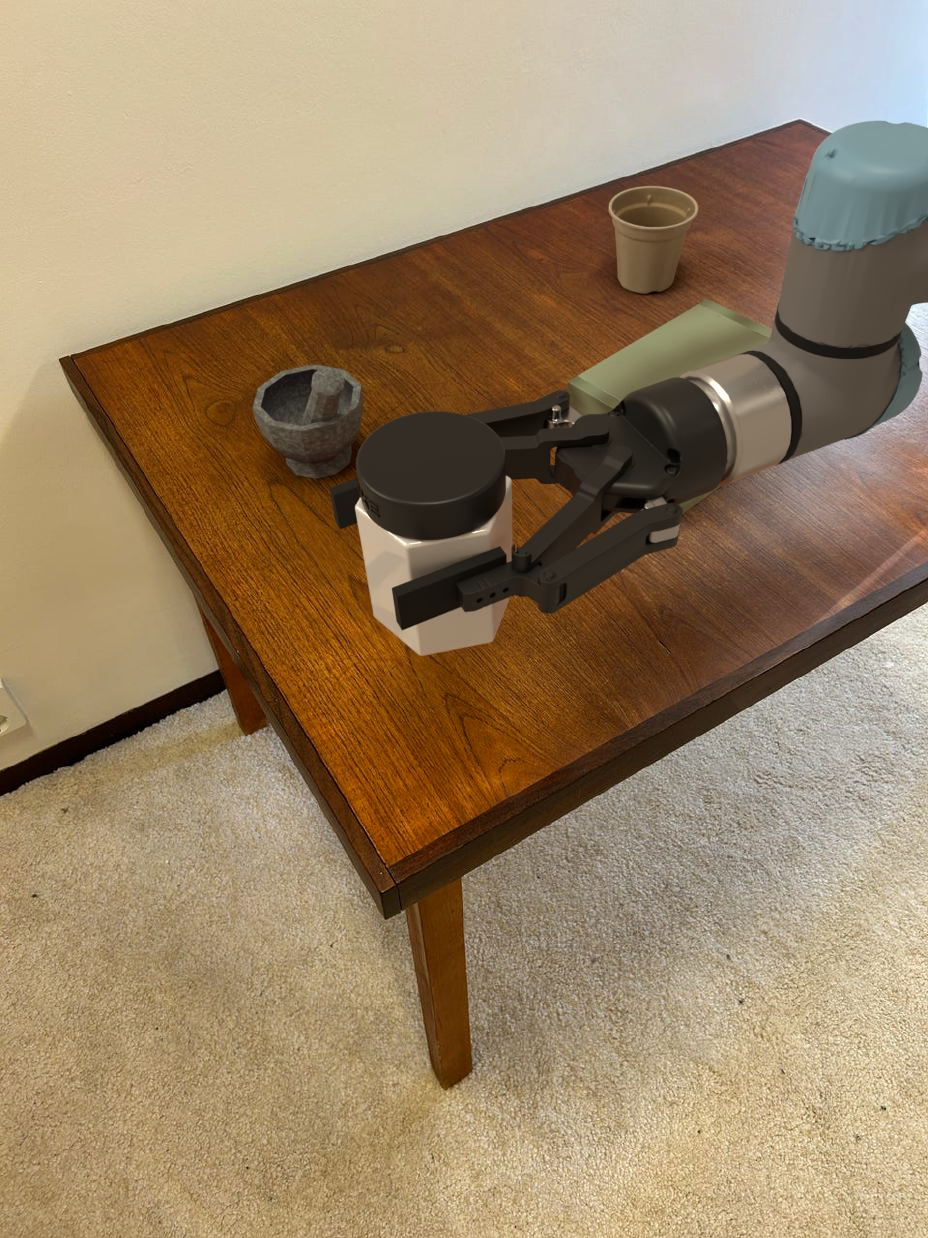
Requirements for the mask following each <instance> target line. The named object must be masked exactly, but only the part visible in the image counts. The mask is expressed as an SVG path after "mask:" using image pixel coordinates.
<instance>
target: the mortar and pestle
mask: <svg viewBox="0 0 928 1238" xmlns="http://www.w3.org/2000/svg"><path fill="white" fill-rule="evenodd" d="M253 401H254V402H253V404H252V411H253V415H254V420H255V422H256V425H257V426H258V428H259V430H260V433H261V434H262V436H264V438H265V439H266V440H267V441H268V442H269V443H270V444H271V445H272V446H273V447H274V448H275V449H276V450H277V452H279V454H281V456H283V457H284V458H285V462H286V465H287V466H288V468H289V469H290V470H291V471H292V472H293V473H294V474H295V475H296V476H299V477H303V478H310V479H314V480H316V479H321V478H326V477H329V476H334V475H337V474H338V473H340V472H341V471H342V470H343V469H344V468H346V467H347V466H348V465H349V464H351V458H352V452H353V448H352V445H353V444H354V443H356V440H357V439H358V436H359V434H360V432H361V426H362V418H363V412H364V410H363V408H364V393H363V386H362V384H361V383H360V382H359V381H358V380H357V379H356V378H355V377H353V376H352V375H351V374H350V373H349V372H347V371H346V370H345V369H343V368H338V367H332V366H325V365H320V364H310V365H304V366H300V367H295V368H291V369H285V370H281V371H280V372H278V373H276V374H275V375H274V376H272V377H271V378H269V379H268V380H267V381H266V382H264V383H263V384H261V385H259V386H258V387H257V390H256V394H255V398H254V400H253Z"/></svg>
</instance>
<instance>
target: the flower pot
mask: <svg viewBox="0 0 928 1238" xmlns="http://www.w3.org/2000/svg"><path fill="white" fill-rule="evenodd" d="M608 213H609V215H610V217H611V222H612V225H613V227H614V233H615V234H614V235H615V249H616V250H615V251H616V266H617V268H616V269H617V270H616V271H617V279H618V281H619V283H620V286H621V287H623V288H624V289H625V290H626V291H629V292H633V293H635V294H642V295H648V294H649V293H652V292H657V293H661V292H664V291H665V290H668V288H670V287H671V286H672V284H673V283H674V280H675V275H676V272H677V268H678V264H679V261H680V258H681V254H682V251H683V248H684V247H683V246H684V243H685V240H686V237H687V233H688V231H689V230H690V228H691V227H692V223H693V221H694V220H695V219H696V218H697V216H698V213H699V204H698V202H697V201H696V200H695V198H694V197H692V196H691V195H690V194H688V193H686V192H684V191H682V190H679V189H676V188H673V187H667V186H660V185H645V186H644V185H643V186H636V187H632V188H628V189H625V190H622V191H620V192H618V193H617V194H615V195H614V196H613V197H612V199H610V201H609V203H608Z"/></svg>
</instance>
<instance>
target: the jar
mask: <svg viewBox="0 0 928 1238" xmlns="http://www.w3.org/2000/svg"><path fill="white" fill-rule="evenodd" d="M467 415H468V414H463V413H459V412H453V411H443V410H442V411H441V410H431V411H430V410H429V411H428V410H427V411H419V412H414V413H409V414H405V415H402V416H399V417H397V418H394V419H392V420H389V421H387V422H385V423H383V424H382V425H381V426H379V427H377V428H376V429H375V430H374V431H372V432H371V433H370V434H369V435H368V436H367V437H366V439H365V440H364V441H363V442H362V444H361V445H360V448H359V449H358V452H357V454H356V455H357V456H356V459H355V460H356V461H355V468H356V473H355V474H356V479H357V484H358V490H359V494H360V499H359V500H358V502H357V504H356V506H355V512H356V517H357V528H358V529H357V530H358V534H359V539H360V540H359V541H360V545H361V552H362V557H363V563H364V568H365V574H366V580H367V586H368V592H369V597H370V604H371V609H372V614H373V617H374V618H375V620H377V621H378V622H379V623H380V624H382V625H383V626H384V627H385V628H386V629H387V630H388V631H390V632H391V633H392V634H393V635H395V636H396V637H397V638H398V639H399V640H400V641H402V642H403V643H404V644H405V645H406V646H407V647H408V648H409V649H411V650H412V651H413V652H414V653H415V654H417V655H418V656H419V657H424V656H425V657H426V656H429V655H434V654H439V653H445V652H451V651H455V650H459V649H465V648H466V649H467V648H470V647H471V648H472V647H475V646H480V645H486V644H490V643H493V642H494V640H495V638H496V635H497V632H498V630H499V628H500V626H501V622H502V621H503V617H504V615H505V612H506V610H507V607H508V604H509V602H510V599H511V597H509V598H506V599H504V600H501V601H499V602H496V603H494V604H490V605H489V606H486V607H483V608H482V609H479V610H477V611H472V612H464V610H463V609H462V608H461V607H460V608H457V609H455V610H452V611H450V612H447V613H445V614H442V615H440V616H437V617H435V618H432V619H430V620H427V621H425V622H422V623H420V624H417V625H415V626H412V627H410V628H407V629H405V630H401V628H400V626H399V625H398V623H397V621H396V614H395V607H394V601H393V594H392V588H393V587H395V586H398V585H400V584H403V583H406V582H408V581H411V580H413V579H416V578H419V577H421V576H424V575H426V574H429V573H432V572H434V571H437V570H439V569H442V568H445V567H447V566H450V565H453V564H455V563H458V562H460V561H463V560H466V559H468V558H471V557H473V556H476V555H479V554H481V553H484V552H486V551H489V550H492V549H494V548H497V547H499V546H500V547H501V548H502V549H503V551H504V552H505V553H506V554H507V562H510V561H512V558H511V549H512V546H513V544H514V543H513V542H514V541H513V539H514V538H513V480H511V479H510V478H509V477H508V476H506V455H505V449H504V446H503V443H502V441H501V439H500V438H499V436H498V435H497V434H496V433H495V432H494V431H493V430H492V429H491V428H490V427H489V426H487V425H486V424H484V423H483V422H481V421H479V420H477V419H475V418H472V417H470V416H467Z"/></svg>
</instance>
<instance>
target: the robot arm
mask: <svg viewBox="0 0 928 1238" xmlns="http://www.w3.org/2000/svg"><path fill="white" fill-rule="evenodd" d="M787 254H788V255H787V259H786V265H785V268H784V269H785V271H784V275H783V280H782V285H781V291H780V296H779V300H778V303H777V306H776V313H775V315H774V319H773V323H772V328H771V329H772V332H771V336H770V340H769V341H768V343H766V344H764V345H761V346H759V347H756V348H754V349H751V350H749V351H746V352H744V353H741V354H738V355H735V356H733V357H730V358H727V359H724V360H721V361H718V362H715V363H712V364H709V365H706V366H703V367H700V368H697V369H693V370H690V371H688V372H686V373H684V374H682V375H681V376H680V377H674V378H670V379H667V380H664V381H661V382H659V383H656V384H653V385H650V386H647V387H644V388H642V389H639V390H636V391H633V392H631V393H629V394H628V395H627V396H625V397H624V399H623V400H622V401H621V402H620V403H619V404H618V405H617V406H616V407H615V408H614V409H613V410H612V411H610V412H608V413H602V414H587V415H581V414H580V413H579V412H577V411H576V410H575V409H573V408H572V407H571V406H570V394H569V393H568V392H567V390H561V389H559V390H555V391H553V392H551V393H549V394H546V395H545V396H543V397H540V398H538V399H536V400H533V401H528V402H522V403H519V404H518V403H517V404H513V405H508V406H503V407H499V408H493V409H488V410H483V411H478V412H473V413H468V414H466V415H467V416H470V417H472V418H475V419H477V420H479V421H481V422H483V423H484V424H486V425H487V426H489V427H490V428H491V429H492V430H493V431H494V432H495V433H496V434H497V435H498V436H499V438H500V439H501V441H502V443H503V446H504V449H505V455H506V476H508V477H509V478H510V479H511V480H512V481H513V480H514V481H515V480H533V479H534V480H537V481H538V482H539V484H542V485H555V484H557V485H558V484H559V486H561V487H562V488H564V489H565V490H567V491H568V492H570V495H571V496H572V497H571V498H570V499H569V500H568V501H567V502H566V503H565V504H564V505H563V506H562V507H561V508H560V509H559V510H558V511H557V512H555V514H553V515H552V517H551V518H549V519H548V521H546V522H545V523H544V524H543V525H542V526H541V527H540V528H539V529H538V530H537V531H536V532H535V533H533V535H532V536H531V537H530V538H528V540H526V542H524V543H523V544H522V545H521V546H516V545H515V544H514V543H513V546H512V549H511V558H512V561H510V562H507V554H506V553H505V552H504V551H503V549H502V548H501V547H500V546H499V547H497V548H494V549H492V550H489V551H486V552H484V553H481V554H479V555H476V556H473V557H471V558H468V559H466V560H463V561H460V562H458V563H455V564H453V565H450V566H447V567H445V568H442V569H439V570H437V571H434V572H432V573H429V574H426V575H424V576H421V577H419V578H416V579H413V580H411V581H408V582H406V583H403V584H400V585H398V586H395V587H393V588H392V594H393V601H394V607H395V614H396V621H397V623H398V625H399V626H400V628H401V630H405V629H407V628H410V627H412V626H415V625H417V624H420V623H422V622H425V621H427V620H430V619H432V618H435V617H437V616H440V615H442V614H445V613H447V612H450V611H452V610H455V609H457V608H460V607H461V608H462V609H463V610H464V612H472V611H477V610H479V609H482V608H483V607H486V606H489V605H490V604H494V603H496V602H499V601H501V600H504V599H506V598H509V597H510V598H511V597H514V596H516V597H519V598H520V597H521V598H525V597H527V598H528V599H530V600H532V601H533V602H535V603H537V609H538V610H539V612H540V613H543V614H547V615H550V614H552V615H553V614H554V613H557V612H558V611H559V610H561V609H563V608H564V607H567V606H568V605H569V604H570V603H572V602H575V601H576V600H577V599H578V598H580V597H581V596H583V595H585V594H587V593H588V592H590V591H591V590H593V589H594V588H596V587H597V586H599V585H600V584H602V583H604V582H605V581H607V580H608V579H610V578H611V577H613V576H614V575H617V574H618V573H619V572H621V571H622V570H624V569H626V568H628V567H629V566H630V565H632V564H634V563H635V562H636V561H638V560H640V559H642V558H643V557H645V556H646V555H650V554H653V553H654V554H655V553H657V552H661V551H664V550H668V549H673V548H674V547H676V546H677V545H678V542H679V535H680V531H681V526H682V525H681V524H682V519H683V514H682V512H683V510H682V507H681V506H679V505H678V504H681V503H683V502H686V501H688V500H691V499H693V498H696V497H698V496H701V495H704V494H706V493H709V492H711V491H713V490H714V489H715V488H716V487H717V486H721V487H723V486H728V485H730V484H732V483H735V482H737V481H740V480H742V479H745V478H748V477H750V476H752V475H756V474H758V473H760V472H763V471H765V470H768V469H770V468H773V467H775V466H778V465H781V464H783V463H785V462H788V461H789V460H792V459H794V458H797V457H800V456H804V455H806V454H808V453H811V452H814V451H816V450H819V449H821V448H825V447H827V446H830V445H833V444H835V443H839V442H840V441H841V442H842V441H844V440H845V441H847V440H850V439H854V438H858V437H860V436H862V435H864V434H866V433H867V432H868V431H870V430H872V429H873V428H875V427H876V426H879V425H881V424H883V423H885V422H888V421H889V420H891V419H893V418H895V417H897V416H898V415H901V414H902V413H903V412H904V411H905V410H907V409H908V408H909V407H910V405H911V404H912V403H913V401H914V400H915V398H916V396H917V395H918V393H919V390H920V387H921V384H922V381H923V374H924V373H923V371H922V369H921V368H920V366H921V364H920V358H921V357H922V349H921V347H920V344H919V340H918V338H917V337H916V334H915V333H914V331H913V329H912V328H911V327H910V326H909V325H908V323H907V319H908V317H909V313H910V311H911V308H912V307H913V306H915V305H919V304H928V127H927V126H923V125H920V124H916V123H912V122H906V121H904V122H899V123H894V122H889V121H886V120H867V121H861V122H857V123H853V124H848V125H846V126H843V127H840V128H839V129H837V130H835V131H833V132H832V133H830V134H829V135H828V136H826V137H825V139H823V140H822V142H821V143H820V144H819V145H818V147H817V148H816V150H815V152H814V154H813V156H812V159H811V162H810V165H809V168H808V171H807V173H806V176H805V179H804V183H803V185H802V190H801V193H800V196H799V200H798V204H797V207H796V209H795V211H794V217H793V222H792V233H791V237H790V243H789V248H788V253H787ZM554 448H556V449H555V452H554V464H551V452H552V449H554ZM328 489H329V495H330V500H331V505H332V510H333V516H334V520H335V523H336V525H337V526H338V529H339V530H343V529H346V528H348V527H351V526H354V525H356V524H357V525H358V523H357V517H356V512H355V506H356V504H357V502H358V500H359V499H360V494H359V490H358V484H357V478H354V479H351V480H348V481H346V482H343V483H340V484H337V485H334V486H331V487H329V488H328ZM620 513H624V514H625V513H626V514H630V515H629V516H626V517H625V518H623V519H622V520H620V521H619V522H618V523H615V524H614V525H612V526H611V527H609V528H607V529H605V530H604V531H602V532H600V533H598V532H599V531H600V530H601V529H602V528H604V526H605V525H606V524H607V523H608V522H609V521H611V519H612V518H613V517H614V516H615V515H616V514H620ZM591 534H593V535H596V534H597V535H596V536H595V537H593V538H591V539H589V540H588V541H586V542H585V543H583V542H584V541H585V540H586V539H587V538H588V537H589V536H590V535H591ZM582 543H583V544H582Z"/></svg>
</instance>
